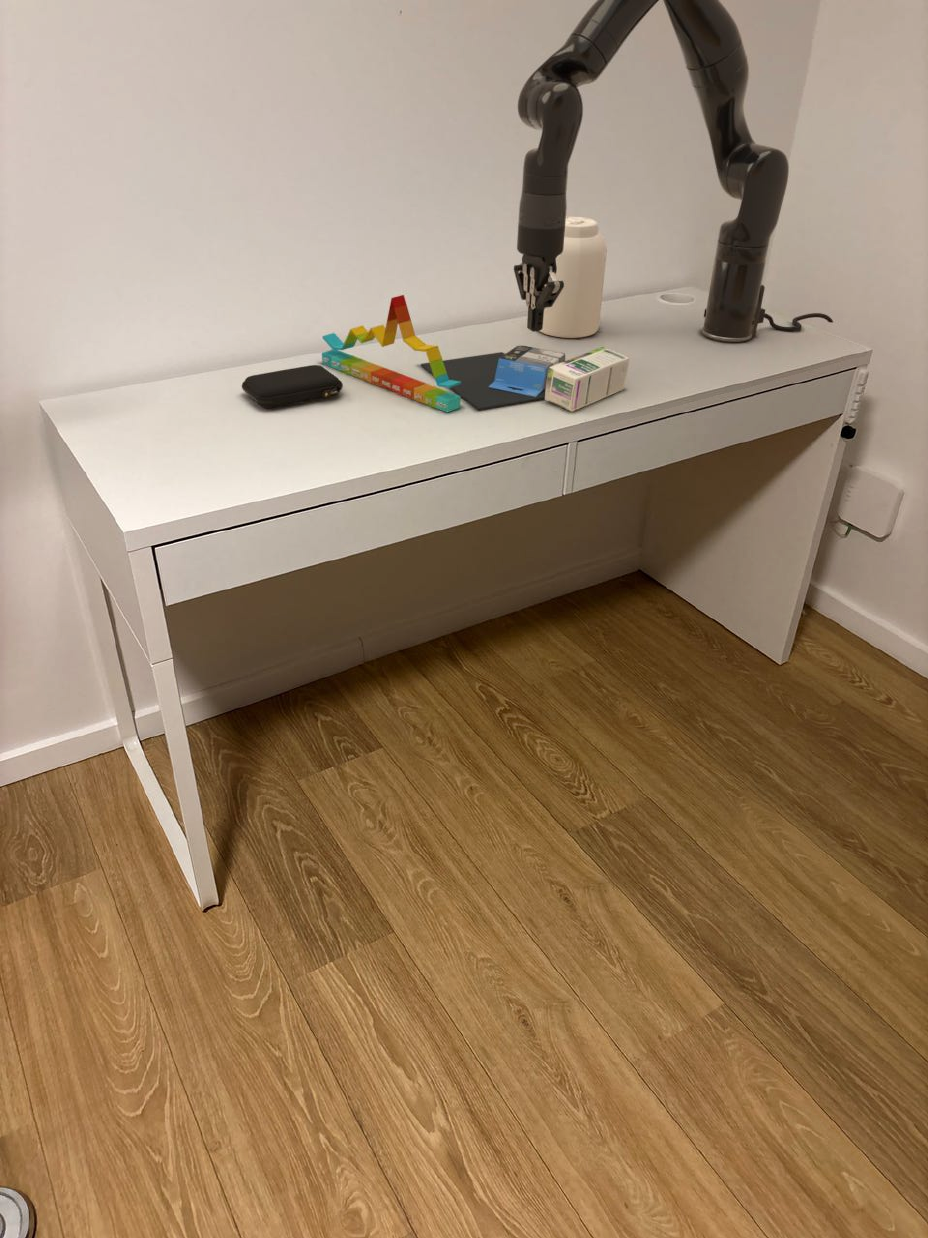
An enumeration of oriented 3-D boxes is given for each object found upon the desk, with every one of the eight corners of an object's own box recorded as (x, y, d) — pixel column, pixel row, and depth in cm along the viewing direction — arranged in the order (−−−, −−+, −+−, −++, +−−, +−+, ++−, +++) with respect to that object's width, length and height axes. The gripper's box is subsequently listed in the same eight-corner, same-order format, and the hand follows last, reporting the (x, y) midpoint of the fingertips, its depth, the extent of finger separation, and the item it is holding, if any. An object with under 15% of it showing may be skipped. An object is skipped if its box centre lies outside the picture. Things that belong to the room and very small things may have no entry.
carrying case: (264, 415, 149) (350, 398, 156) (262, 396, 147) (350, 380, 154) (239, 393, 156) (322, 377, 163) (237, 374, 155) (321, 360, 161)
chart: (321, 363, 169) (315, 275, 160) (335, 359, 171) (330, 271, 162) (446, 413, 152) (447, 317, 143) (460, 407, 154) (462, 312, 145)
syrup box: (630, 356, 159) (576, 377, 150) (624, 390, 162) (570, 412, 153) (602, 346, 162) (548, 365, 153) (596, 379, 165) (543, 400, 156)
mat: (501, 354, 175) (501, 351, 175) (565, 395, 159) (565, 393, 159) (420, 365, 169) (420, 363, 169) (478, 410, 153) (478, 408, 153)
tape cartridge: (566, 352, 164) (538, 374, 155) (564, 374, 166) (537, 397, 157) (518, 343, 167) (488, 364, 158) (517, 365, 169) (487, 387, 160)
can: (538, 316, 194) (545, 210, 183) (601, 322, 192) (612, 214, 181) (529, 336, 184) (536, 224, 173) (595, 341, 182) (607, 229, 171)
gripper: (584, 228, 151) (574, 338, 161) (541, 211, 161) (534, 316, 171) (542, 232, 148) (534, 344, 158) (501, 214, 158) (496, 320, 168)
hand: (534, 329), depth 164 cm, fingers closed
